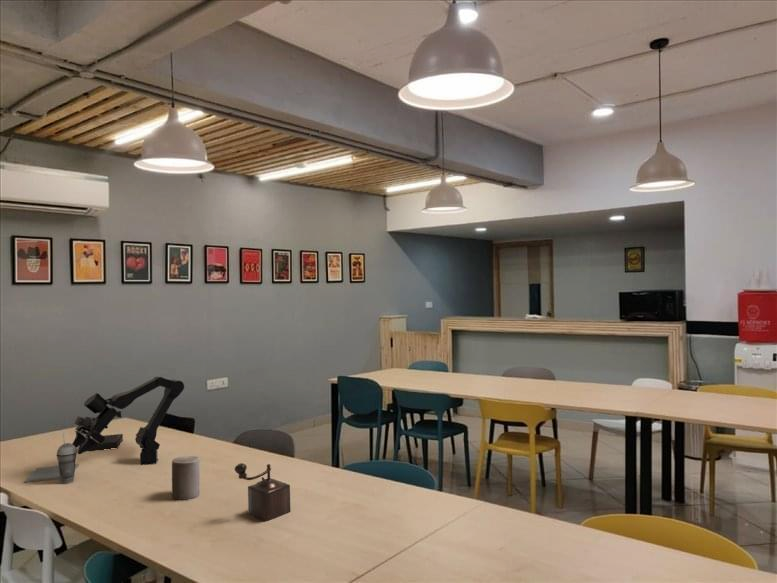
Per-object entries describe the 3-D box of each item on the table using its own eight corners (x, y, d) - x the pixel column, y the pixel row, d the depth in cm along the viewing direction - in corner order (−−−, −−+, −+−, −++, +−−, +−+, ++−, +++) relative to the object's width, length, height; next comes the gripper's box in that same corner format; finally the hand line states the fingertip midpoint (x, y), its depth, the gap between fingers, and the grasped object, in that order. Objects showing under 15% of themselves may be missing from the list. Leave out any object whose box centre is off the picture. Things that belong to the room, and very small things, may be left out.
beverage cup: (70, 485, 215) (69, 434, 216) (52, 485, 216) (51, 435, 216) (81, 478, 223) (80, 430, 223) (64, 479, 223) (63, 430, 223)
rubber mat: (78, 465, 242) (78, 463, 242) (69, 477, 225) (69, 475, 225) (37, 469, 237) (37, 468, 237) (24, 482, 220) (24, 481, 220)
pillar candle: (170, 502, 194) (170, 460, 194) (173, 492, 204) (173, 453, 204) (199, 499, 197) (198, 458, 197) (200, 490, 206) (200, 450, 206)
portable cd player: (86, 444, 278) (86, 437, 278) (122, 441, 284) (122, 433, 284) (78, 453, 263) (78, 445, 263) (117, 449, 268) (117, 441, 268)
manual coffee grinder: (271, 504, 190) (270, 453, 191) (291, 512, 183) (290, 458, 183) (233, 518, 179) (232, 464, 179) (252, 527, 171) (251, 470, 172)
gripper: (80, 406, 232) (51, 437, 224) (96, 411, 219) (66, 444, 211) (100, 421, 238) (72, 452, 229) (116, 427, 225) (88, 460, 217)
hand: (74, 451), depth 221 cm, fingers open, 9 cm apart
